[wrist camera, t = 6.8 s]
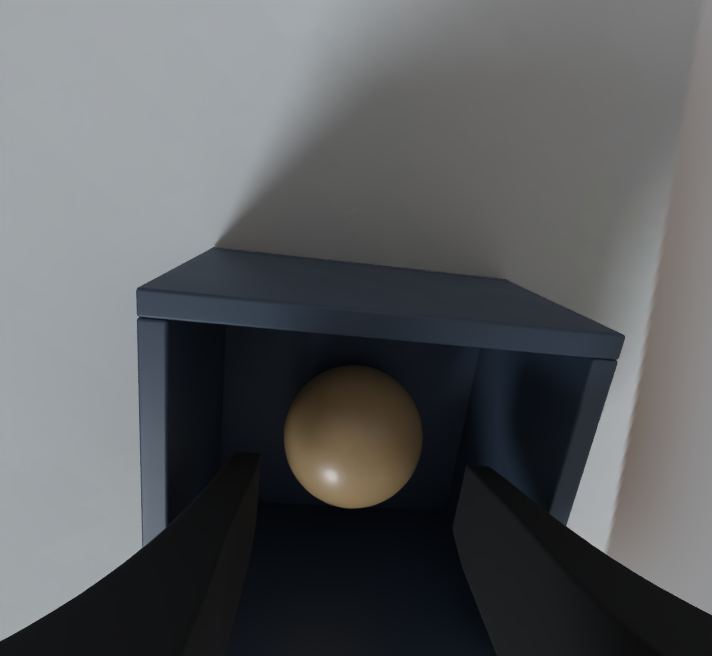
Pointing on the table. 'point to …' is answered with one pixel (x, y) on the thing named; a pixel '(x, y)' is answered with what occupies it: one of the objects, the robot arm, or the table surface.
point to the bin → (436, 409)
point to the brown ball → (353, 436)
